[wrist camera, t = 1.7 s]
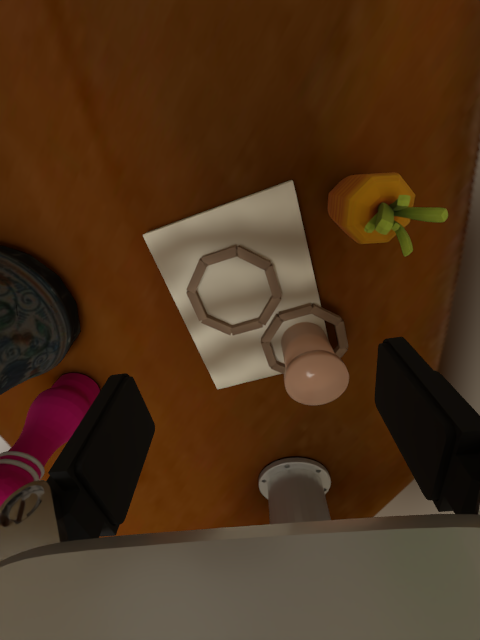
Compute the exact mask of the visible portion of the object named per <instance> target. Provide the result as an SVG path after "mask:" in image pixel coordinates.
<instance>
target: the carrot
mask: <svg viewBox="0 0 480 640" xmlns="http://www.w3.org/2000/svg"><path fill="white" fill-rule="evenodd" d="M414 199H415V194H414V193H413V191H412V190H411V189H410V187H409V186H408V185H407V184H406V182H405V181H404V180H403V178H402V177H401V176H400V175H399V174H398V173H396V172H390V173H372V174H358V175H349V176H347V177H345V178H344V179H342V180H341V181H340V182H339V183H338V184H337V185H336V186H335V187H334V188H333V189H332V190H331V191H330V192H329V194H328V207H327V210H328V214H329V216H330V218H331V219H332V220H333V221H334V222H335V223H336V224H337V225H338V226H339V227H340V228H341V229H342V230H343V232H345V233H346V234H347V235H348V236H349V237H350V238H351V239H353V240H354V241H355V242H357V243H358V244H368V243H385V242H389V241H390V240H391V239H392V238H393V237H394V236H395V235H397V237H398V240H399V242H400V245H401V249H402V252H403V255H404V256H408V255H409V254H410V253H411V252H412V251H413V247H412V243H411V240H410V237H409V236H408V234H407V232H406V230H405V229H404V227H405V226H407V225H408V224H409V223H410V219H414V220H420V221H426V222H445V220H446V219H447V217H448V211H447V210H446V209H445V208H423V207H413V204H414Z"/></svg>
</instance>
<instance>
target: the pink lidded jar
mask: <svg viewBox="0 0 480 640" xmlns="http://www.w3.org/2000/svg"><path fill="white" fill-rule="evenodd" d="M281 347H282V352H283V357H284V362H285V368H286V369H285V372H284V383H285V388H286V391H287V393H288V394H289V395H290V397H291V398H293V399H294V400H295V401H297V402H299V403H302V404H306V405H321V404H325V403H328V402H331V401H333V400H335V399H336V398H338V397H339V396H340V395H341V394H342V393H343V392H344V391H345V389H346V388H347V385H348V382H349V373H348V370H347V368H346V366H345V364H344V362H343V361H342V360H341V359H340V358H339V357H338V356H337V355H336V354H335V353H334V351H333V349H332V347H331V345H330V343H329V340H328V338H327V336H326V334H325V332H324V330H323V329H322V328H321V327H320V326H318V325H316V324H314V323H310V322H301V323H297V324H295V325H292V326H291V327H289V328H288V329H287V330H286V331H285V332H284V334H283V336H282V339H281Z"/></svg>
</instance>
